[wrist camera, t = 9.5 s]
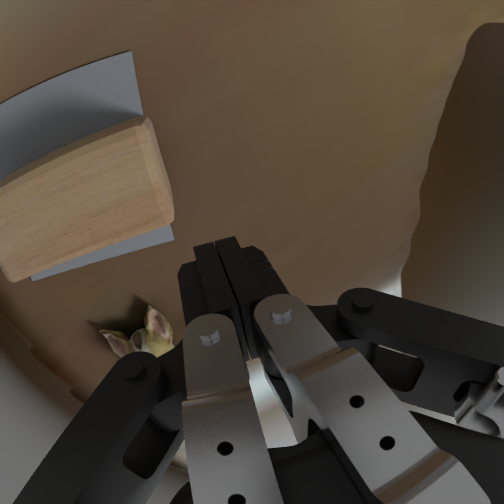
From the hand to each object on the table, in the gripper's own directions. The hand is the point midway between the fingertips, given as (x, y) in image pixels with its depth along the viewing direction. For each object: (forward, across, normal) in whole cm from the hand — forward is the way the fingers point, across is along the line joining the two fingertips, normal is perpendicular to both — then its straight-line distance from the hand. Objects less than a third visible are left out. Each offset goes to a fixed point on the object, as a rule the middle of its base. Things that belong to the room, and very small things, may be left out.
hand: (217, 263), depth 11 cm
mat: (+26, +14, 0) cm, 30 cm away
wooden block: (+21, +2, +1) cm, 21 cm away
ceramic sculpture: (+27, +12, +28) cm, 40 cm away
